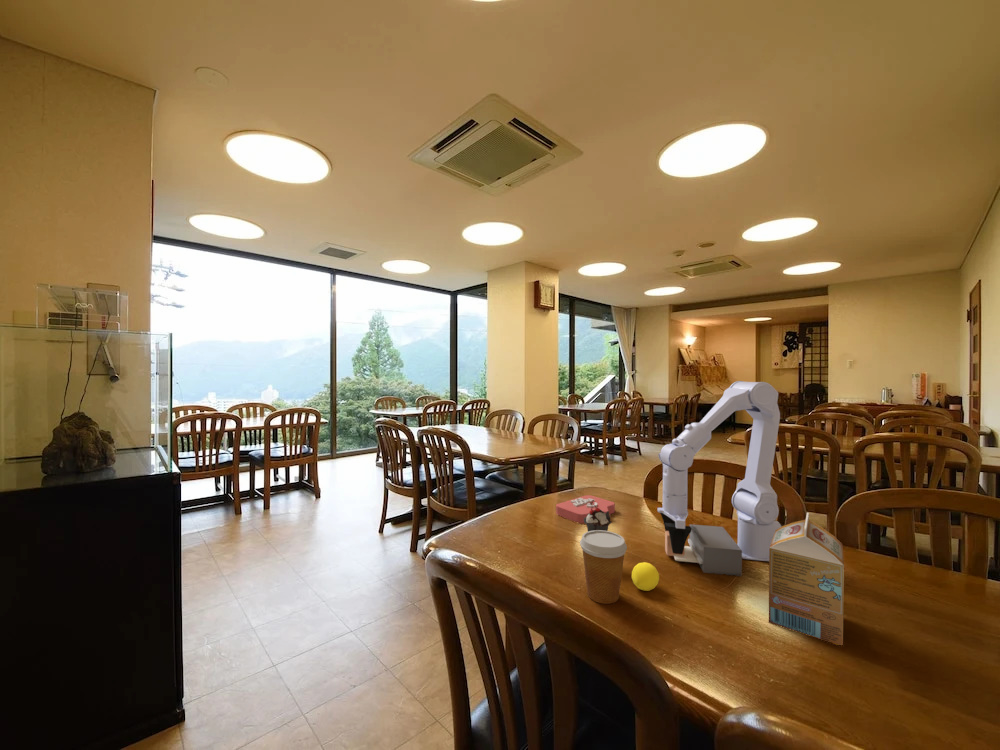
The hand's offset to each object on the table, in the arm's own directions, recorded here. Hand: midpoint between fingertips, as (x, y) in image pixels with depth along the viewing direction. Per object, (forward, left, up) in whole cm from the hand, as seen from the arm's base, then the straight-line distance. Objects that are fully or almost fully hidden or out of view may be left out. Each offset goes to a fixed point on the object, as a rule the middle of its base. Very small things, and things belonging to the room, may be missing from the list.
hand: (674, 546), depth 102 cm
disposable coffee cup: (+18, +22, -3) cm, 29 cm away
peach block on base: (-5, 0, -2) cm, 5 cm away
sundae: (+19, +7, -3) cm, 20 cm away
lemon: (+9, +17, -3) cm, 19 cm away
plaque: (+21, -26, -3) cm, 34 cm away
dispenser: (-9, 0, -3) cm, 9 cm away
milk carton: (-19, +22, -3) cm, 29 cm away
